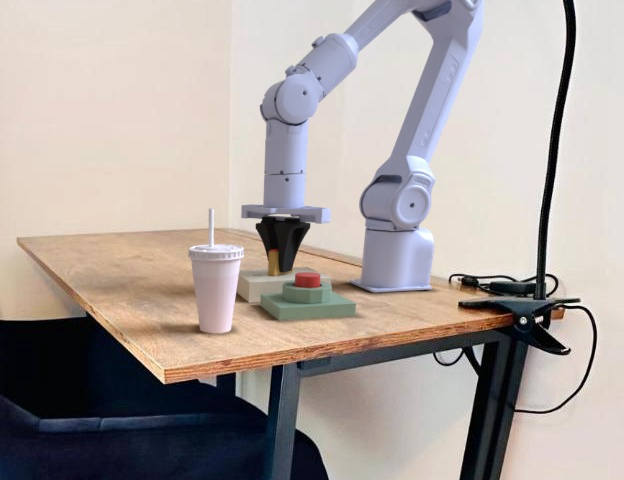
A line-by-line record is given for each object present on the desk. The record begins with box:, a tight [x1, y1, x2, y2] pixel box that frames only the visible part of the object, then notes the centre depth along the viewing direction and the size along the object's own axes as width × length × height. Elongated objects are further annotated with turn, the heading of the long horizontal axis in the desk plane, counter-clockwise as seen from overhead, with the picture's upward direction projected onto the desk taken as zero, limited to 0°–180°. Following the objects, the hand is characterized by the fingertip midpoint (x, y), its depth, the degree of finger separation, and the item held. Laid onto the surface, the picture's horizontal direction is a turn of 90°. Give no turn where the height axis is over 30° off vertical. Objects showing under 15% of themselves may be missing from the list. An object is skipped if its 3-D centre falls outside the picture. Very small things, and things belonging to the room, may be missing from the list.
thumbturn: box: [267, 249, 294, 276], centre depth 81 cm, size 4×1×4 cm, turn 129°
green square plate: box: [259, 281, 357, 321], centre depth 72 cm, size 10×8×4 cm
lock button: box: [295, 272, 321, 288], centre depth 72 cm, size 3×3×2 cm
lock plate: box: [236, 266, 332, 303], centre depth 82 cm, size 12×9×3 cm
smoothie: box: [187, 208, 245, 334], centre depth 64 cm, size 6×6×14 cm
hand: (280, 270), depth 82 cm, fingers closed on thumbturn
